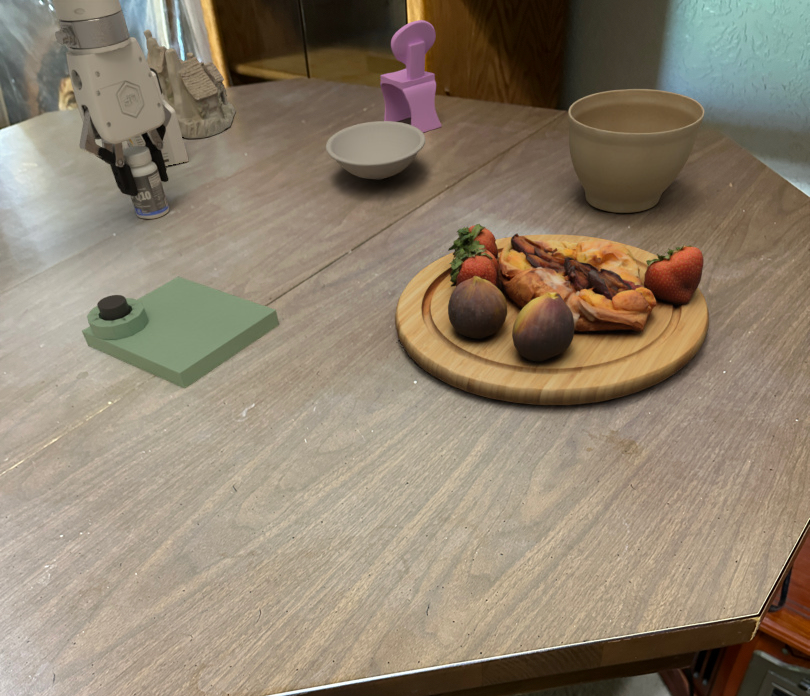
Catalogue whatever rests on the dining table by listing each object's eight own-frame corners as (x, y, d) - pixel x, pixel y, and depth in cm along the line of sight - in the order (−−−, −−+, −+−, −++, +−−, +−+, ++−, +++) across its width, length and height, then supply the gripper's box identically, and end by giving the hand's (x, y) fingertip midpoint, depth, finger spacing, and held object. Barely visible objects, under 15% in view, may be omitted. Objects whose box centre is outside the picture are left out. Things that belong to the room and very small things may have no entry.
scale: (88, 346, 79) (75, 317, 77) (182, 291, 87) (174, 263, 84) (185, 389, 72) (174, 359, 70) (279, 325, 80) (273, 295, 77)
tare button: (96, 317, 77) (91, 304, 76) (118, 305, 79) (113, 292, 78) (114, 325, 76) (108, 311, 75) (136, 312, 77) (131, 298, 76)
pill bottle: (130, 218, 103) (108, 156, 97) (148, 205, 106) (128, 143, 100) (158, 221, 102) (138, 157, 96) (176, 207, 105) (157, 144, 99)
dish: (330, 161, 113) (326, 126, 110) (421, 152, 113) (419, 116, 110) (330, 206, 101) (325, 168, 98) (432, 196, 101) (430, 158, 98)
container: (132, 159, 120) (103, 69, 111) (177, 148, 122) (152, 59, 113) (142, 173, 115) (113, 80, 106) (189, 162, 117) (164, 69, 108)
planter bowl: (551, 222, 93) (559, 129, 85) (570, 174, 103) (578, 87, 95) (682, 230, 89) (703, 133, 81) (688, 179, 99) (706, 89, 91)
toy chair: (416, 113, 126) (411, 9, 115) (446, 125, 121) (444, 17, 110) (377, 125, 123) (368, 19, 112) (406, 137, 118) (399, 28, 107)
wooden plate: (707, 262, 83) (726, 187, 77) (702, 431, 62) (727, 348, 56) (439, 244, 91) (436, 175, 85) (355, 390, 70) (345, 312, 64)
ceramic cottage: (188, 142, 123) (164, 36, 113) (144, 127, 133) (118, 29, 123) (264, 123, 131) (247, 22, 121) (217, 111, 140) (198, 16, 130)
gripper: (55, 53, 82) (114, 215, 95) (169, 18, 91) (207, 170, 104) (18, 47, 85) (79, 204, 98) (131, 14, 94) (173, 162, 107)
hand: (144, 185), depth 101 cm, fingers closed on pill bottle, 4 cm apart
